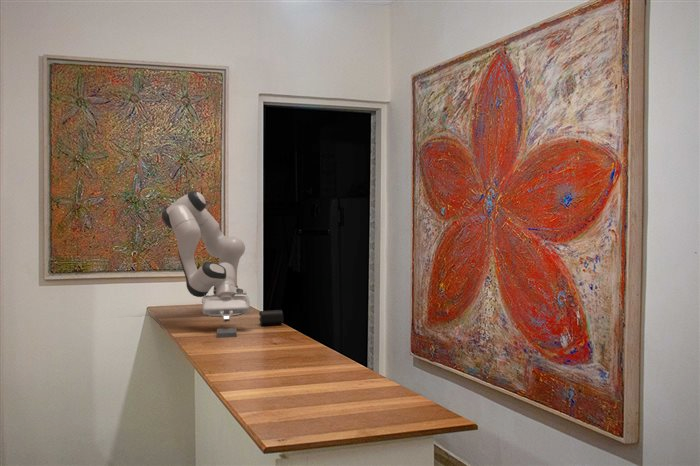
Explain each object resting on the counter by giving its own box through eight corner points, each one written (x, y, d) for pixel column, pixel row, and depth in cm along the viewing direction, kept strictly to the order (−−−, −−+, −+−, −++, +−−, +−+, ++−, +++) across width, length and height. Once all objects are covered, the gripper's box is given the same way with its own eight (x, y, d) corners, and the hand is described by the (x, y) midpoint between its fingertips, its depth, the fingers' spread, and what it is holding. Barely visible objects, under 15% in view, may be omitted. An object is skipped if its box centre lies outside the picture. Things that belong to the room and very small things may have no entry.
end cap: (261, 327, 327) (261, 312, 327) (258, 324, 334) (258, 310, 333) (283, 325, 330) (283, 310, 330) (280, 323, 337) (279, 308, 337)
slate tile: (217, 328, 313) (216, 333, 301) (236, 327, 314) (236, 332, 303) (217, 333, 313) (216, 338, 301) (236, 333, 314) (236, 338, 303)
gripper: (201, 291, 317) (201, 317, 307) (249, 289, 320) (250, 315, 311) (202, 300, 321) (201, 326, 312) (249, 298, 325) (250, 324, 315)
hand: (226, 320), depth 311 cm, fingers closed
